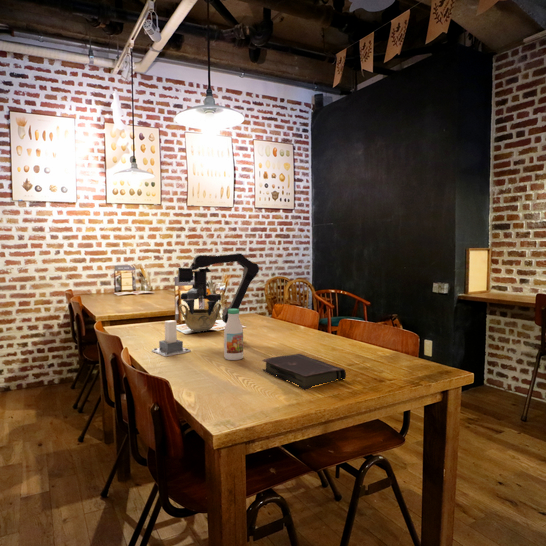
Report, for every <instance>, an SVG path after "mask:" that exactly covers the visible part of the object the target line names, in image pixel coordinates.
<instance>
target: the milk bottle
mask: <svg viewBox="0 0 546 546" xmlns="http://www.w3.org/2000/svg"><path fill="white" fill-rule="evenodd" d="M223 343H224V344H223V352H224V353H223V355H224V359H225V360H229V361H238V360H241V359H244V328H243V324H242V323H241V319H240V309H228V321H227V323H225V325H224V331H223Z"/></svg>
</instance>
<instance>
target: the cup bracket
mask: <svg viewBox="0 0 546 546" xmlns="http://www.w3.org/2000/svg"><path fill="white" fill-rule="evenodd" d="M158 344H159V348H158V347H157V348H155V347H154V348H153V349H151V352H153V353H155V354H157V355H160V356H163V357H170V356H175V355H180V354H182V355H183V354H186V353H191V349H189V348H187V347H184V343H183V341H182V340H180V339H177V342H173V343H166V342H165V339H164V340H159V343H158Z"/></svg>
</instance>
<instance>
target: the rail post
mask: <svg viewBox="0 0 546 546" xmlns="http://www.w3.org/2000/svg"><path fill="white" fill-rule="evenodd" d="M177 330H178V329H177V320H171V319H170V320H165V321H164V340H165V342H166V343H173V342H177V340H178V339H177V338H178V337H177V336H178V335H177V334H178V331H177Z"/></svg>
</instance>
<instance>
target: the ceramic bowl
mask: <svg viewBox="0 0 546 546" xmlns="http://www.w3.org/2000/svg"><path fill="white" fill-rule="evenodd" d="M182 307H183V308H184V309H185V313H184V311H183V309H182ZM216 307H217V309H216ZM221 309H222V304H221V303H220V302H216V304H215V306H214V308H213V310H212V312H211V315H210V316H209V315H208V308H194V313H193V314H191V312H190V309H189V307H188V305H186V304H183V303H181V304H179V305H178V310H179V311H180V314H181V315H182V317H183V319H184V323H185V325H186V327H187V328H188V329H190V330H191V331H192V330H193V331H192V332H195V331H203V332H202V333H205V332H204V331H206V332H208V331H210V330H212V328H214V326H215V324H216V321H217V319H218V317H219V314H220V311H221ZM209 329H210V330H209ZM207 330H208V331H207Z"/></svg>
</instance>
